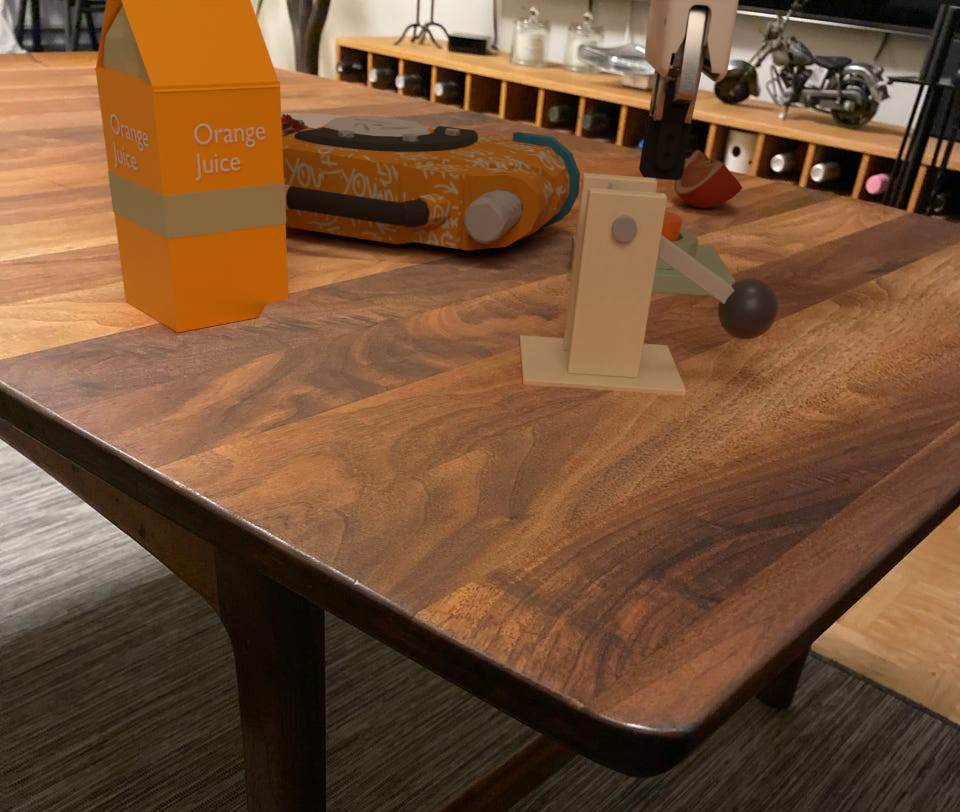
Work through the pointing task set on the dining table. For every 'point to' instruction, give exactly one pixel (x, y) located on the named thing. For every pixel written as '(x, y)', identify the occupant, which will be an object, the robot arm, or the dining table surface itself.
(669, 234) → the button
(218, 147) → the orange juice
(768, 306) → the lever
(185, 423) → the dining table surface
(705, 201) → the broken clay pot piece
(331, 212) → the orange patterned backpack
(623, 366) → the lever stand
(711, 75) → the robot arm
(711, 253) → the button housing
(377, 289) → the dining table surface
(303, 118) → the plated food
